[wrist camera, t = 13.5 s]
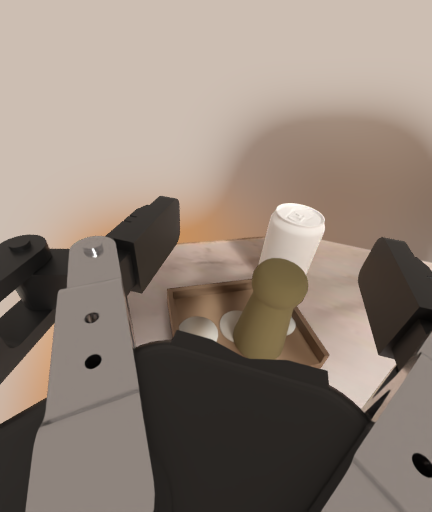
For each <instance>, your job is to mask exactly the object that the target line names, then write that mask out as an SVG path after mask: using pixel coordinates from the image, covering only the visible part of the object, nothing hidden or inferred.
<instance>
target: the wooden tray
mask: <svg viewBox="0 0 432 512" xmlns="http://www.w3.org/2000/svg"><path fill="white" fill-rule="evenodd" d="M252 293H253V289H252V279H248V280H239V281H230V282H222V283H213V284H205V285H196V286H187V287H179V288H170V289H167V303H168V310H169V316H170V322H171V329H172V335H173V337H174V335H175V333H176V330H180V331H184V332H187V333H191V334H195V335H198V336H202V337H206V338H209V339H212V340H214V341H216V342H218V343H219V344H221V345H223V346H225V347H227V348H228V349H230V350H232V351H234V352H236V353H238V354H239V355H241V356H243V357H245V358H247V357H246V356H244V355H243V354H242V353H241V352H240V351H239V350H238V349H237V347H236V345H235V343H234V338H233V332H234V328H235V326H236V324H237V322H238V320H239V318H240V316H241V314H242V312H243V310H244V308H245V306H246V304H247V302H248V300H249V298H250V296H251V294H252ZM328 357H329V353H328V352H327V350H326V349H325V347H324V346H323V345H322V343H321V342H320V340H319V339H318V337H317V336H316V334H315V333H314V331H313V330H312V328H311V327H310V325H309V324H308V322H307V321H306V319H305V318H304V316H303V315H302V313H301V312H300V310H299V309H298V307H297V306H296V307H294V308H293V312H292V316H291V320H290V324H289V328H288V332H287V336H286V340H285V344H284V347H283V350H282V352H281V354H280V356H278V357H277V358H276V359H275V360H289V361H293V362H297V363H300V364H304V365H308V366H311V367H315V368H321V367H322V366H323V364H324V363H325V361H326V360H327V358H328Z"/></svg>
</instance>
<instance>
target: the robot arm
mask: <svg viewBox="0 0 432 512" xmlns="http://www.w3.org/2000/svg"><path fill="white" fill-rule="evenodd" d="M179 211H180V210H179V201H178V199H175V198H170V197H164V196H159V197H158V198H157V199H156V200H155V201H154V202H153V203H152V204H150V205H146V206H143V207H141V208H138V209H136V210H135V211H134V212H133V213H132V214H131V215H130V216H128V217H127V218H126V219H125V220H124V221H122V222H121V223H120V224H119V225H118V226H117V227H115V228H114V229H113V230H112V231H111V232H110V233H108V234H107V235H106V236H92V237H87V238H84V239H81V240H79V241H77V242H76V243H74V244H73V245H72V246H71V248H70V249H49V247H48V244H47V242H46V240H45V238H43V237H41V236H38V235H22V236H18V237H14V238H12V239H8V240H6V241H4V242H2V243H1V244H0V302H1V301H2V300H3V299H4V298H6V297H7V296H8V295H9V294H10V293H11V292H13V291H14V290H15V289H16V291H17V293H18V294H19V296H20V298H21V300H20V301H19V302H18V303H17V304H15V305H14V306H13V307H12V308H11V309H10V310H9V311H8V312H6V313H5V314H4V315H3V316H2V317H1V318H0V384H1V383H2V382H3V381H4V379H5V378H6V377H7V376H8V375H9V374H10V372H12V370H13V369H14V368H15V367H16V366H17V365H18V364H19V362H20V361H21V360H22V359H23V358H24V357H25V356H26V354H27V353H28V352H29V351H30V350H31V349H32V347H34V345H35V344H36V343H37V342H38V341H39V340H40V339H41V337H42V336H43V335H44V334H45V333H46V332H47V331H48V329H49V328H50V327H51V326H52V325H53V324H54V323H55V325H54V335H53V345H52V355H51V365H50V374H49V384H48V394H47V398H45V399H43V400H41V401H40V402H38V403H36V404H34V405H33V406H31V407H29V408H28V409H26V410H24V411H22V412H21V413H19V414H17V415H15V416H13V417H12V418H10V419H9V420H6V421H5V422H3V423H2V424H0V512H432V271H431V270H430V268H429V267H428V266H427V265H425V264H424V263H423V262H422V261H421V260H419V259H418V258H417V257H414V255H413V253H412V252H411V250H410V249H409V247H408V245H407V244H406V243H405V242H404V241H399V240H394V239H388V238H383V237H381V238H379V239H378V240H377V242H376V243H375V245H374V246H373V248H372V250H371V252H370V253H369V255H368V257H367V259H366V261H365V262H364V264H363V266H362V268H361V270H360V273H359V277H358V284H359V288H360V291H361V295H362V298H363V302H364V305H365V309H366V312H367V316H368V320H369V323H370V327H371V330H372V334H373V337H374V341H375V344H376V348H377V352H378V355H380V356H384V357H388V358H392V359H395V361H396V365H395V366H394V367H393V368H392V369H391V370H390V372H389V373H388V374H387V376H386V377H385V378H384V380H383V381H382V382H381V384H380V385H379V386H378V388H377V389H376V390H375V392H374V393H373V394H372V396H371V397H370V399H369V400H368V401H367V403H366V404H365V405H364V406H363V408H362V409H360V408H359V407H358V406H357V405H356V404H355V403H354V402H353V401H352V400H350V399H349V398H348V397H347V396H345V395H344V394H343V393H341V392H340V391H338V390H337V389H335V388H334V387H332V386H330V385H329V381H328V371H326V370H322V369H319V368H315V367H311V366H308V365H304V364H300V363H297V362H293V361H289V360H273V359H249V358H245V357H243V356H241V355H239V354H238V353H236V352H234V351H232V350H230V349H228V348H227V347H225V346H223V345H221V344H219V343H218V342H216V341H214V340H212V339H209V338H206V337H202V336H198V335H195V334H191V333H187V332H184V331H180V330H176V333H175V335H174V337H173V339H172V340H163V341H155V342H150V343H147V344H144V345H140V346H138V347H136V343H135V338H134V333H133V327H132V321H131V316H130V310H129V305H128V299H127V295H128V294H129V293H130V291H134V292H138V293H143V291H144V290H145V288H146V287H147V285H148V284H149V283H150V281H151V280H152V278H153V277H154V275H155V274H156V273H157V271H158V270H159V268H160V267H161V265H162V264H163V263H164V261H165V260H166V258H167V257H168V255H169V254H170V253H171V251H172V250H173V248H174V247H175V245H176V244H177V242H178V239H179V235H180V214H179Z"/></svg>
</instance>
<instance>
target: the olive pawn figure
mask: <svg viewBox="0 0 432 512" xmlns="http://www.w3.org/2000/svg"><path fill="white" fill-rule="evenodd" d="M252 289H253V293H252V294H251V296H250V298H249V300H248V302H247V304H246V306H245V308H244V310H243V312H242V314H241V316H240V318H239V320H238V322H237V324H236V326H235V328H234V332H233V338H234V343H235V345H236V347H237V349H238V350H239V351H240V352H241V353H242V354H243V355H244V356H246V357H247V358H249V359H273V360H275V359H276V358H277V357H278V356H280V354H281V352H282V350H283V347H284V344H285V340H286V336H287V332H288V328H289V324H290V320H291V316H292V312H293V308H294V307H296V306H297V305H298V304H300V303H301V302H302V301H303V299H304V297H305V295H306V293H307V291H308V280H307V277H306V275H305V272H304V271H303V270H302V269H301V268H300V267H299V266H298V265H296V264H295V263H293V262H291V261H289V260H286V259H281V258H271V259H267V260H265V261H263V262H261V263H260V264H259V265H258V266H257V268H256V269H255V270H254V273H253V277H252Z"/></svg>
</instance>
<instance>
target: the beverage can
mask: <svg viewBox="0 0 432 512" xmlns="http://www.w3.org/2000/svg"><path fill="white" fill-rule="evenodd" d="M324 222H325V218H324V216H323V215H322V214H321V213H320V212H318V211H317V210H315V209H313V208H311V207H308V206H304V205H300V204H293V203H286V204H281V205H279V206H278V207H277V208H276V210H275V211H274V212H273V213H272V215H271V217H270V221H269V225H268V230H267V233H266V237H265V241H264V245H263V248H262V252H261V256H260V260H259V264H260V263H261V262H263V261H265V260H267V259H271V258H281V259H286V260H289V261H291V262H293V263H295V264H296V265H298V266H299V267H300V268H301V269H302V270H303V271H304V272H305V275H306V274H307V272H308V269H309V267H310V265H311V262H312V260H313V257H314V255H315V253H316V250H317V248H318V245H319V243H320V241H321V238H322V236H323V233H324V231H325V225H324ZM259 264H258V265H259Z"/></svg>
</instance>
